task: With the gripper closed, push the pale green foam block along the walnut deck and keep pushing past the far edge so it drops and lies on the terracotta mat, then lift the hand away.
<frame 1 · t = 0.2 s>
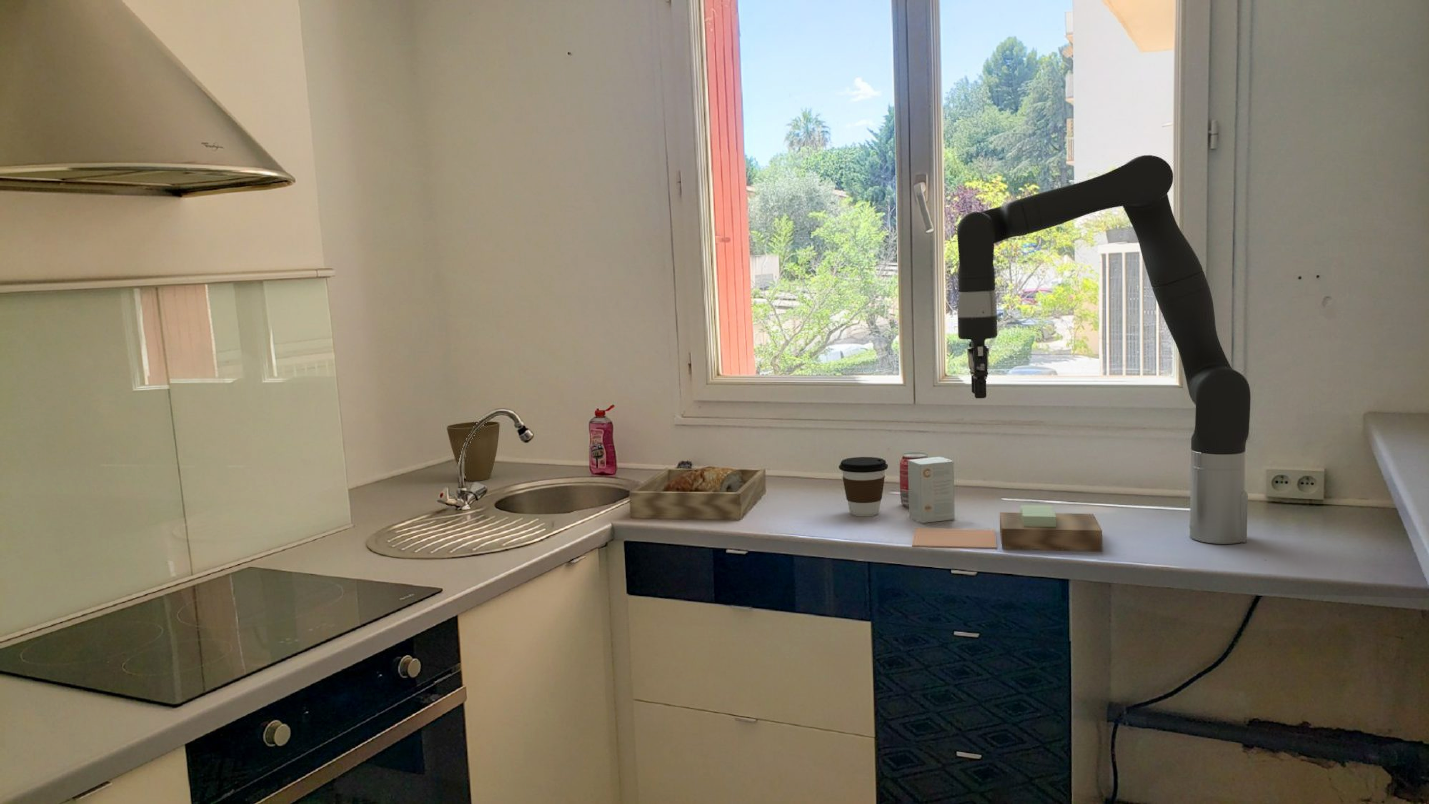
hand: (978, 395, 195), 28 cm above the worktop, tool pointing down, fingers open, 8 cm apart
pale green foam block: (1037, 520, 191), point 4 cm above the worktop, touching deck
deck: (1048, 540, 191), on the worktop
coffee cup: (864, 513, 220), on the worktop
soda can: (915, 506, 225), on the worktop
bread crate: (701, 504, 236), on the worktop
plant pot: (477, 479, 282), on the worktop
small box: (931, 519, 213), on the worktop
bread: (701, 506, 236), resting in bread crate
mat: (954, 538, 196), on the worktop
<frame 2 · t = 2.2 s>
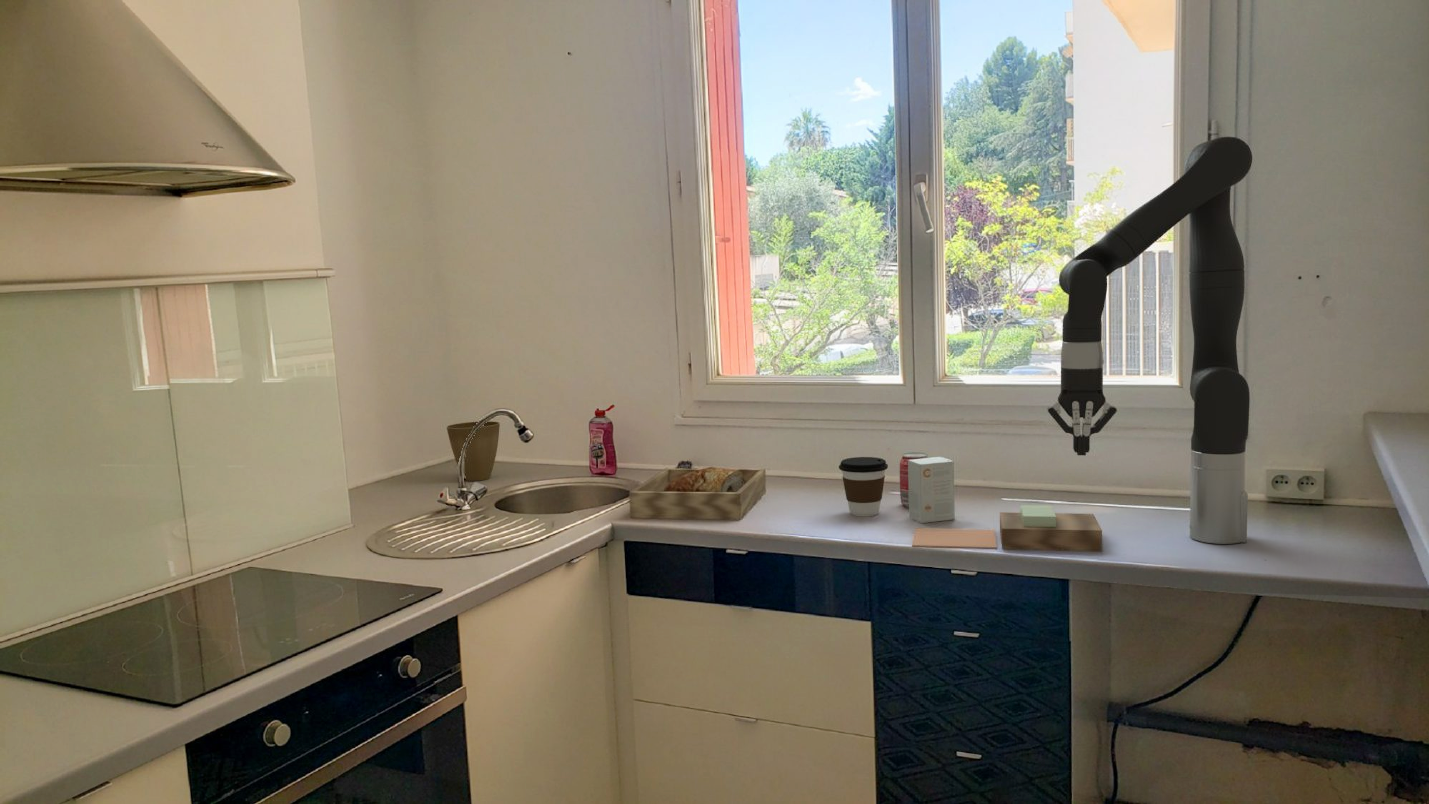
hand: (1081, 454, 187), 17 cm above the worktop, tool pointing down, fingers closed
bread: (702, 507, 235), resting in bread crate
everything else where it was.
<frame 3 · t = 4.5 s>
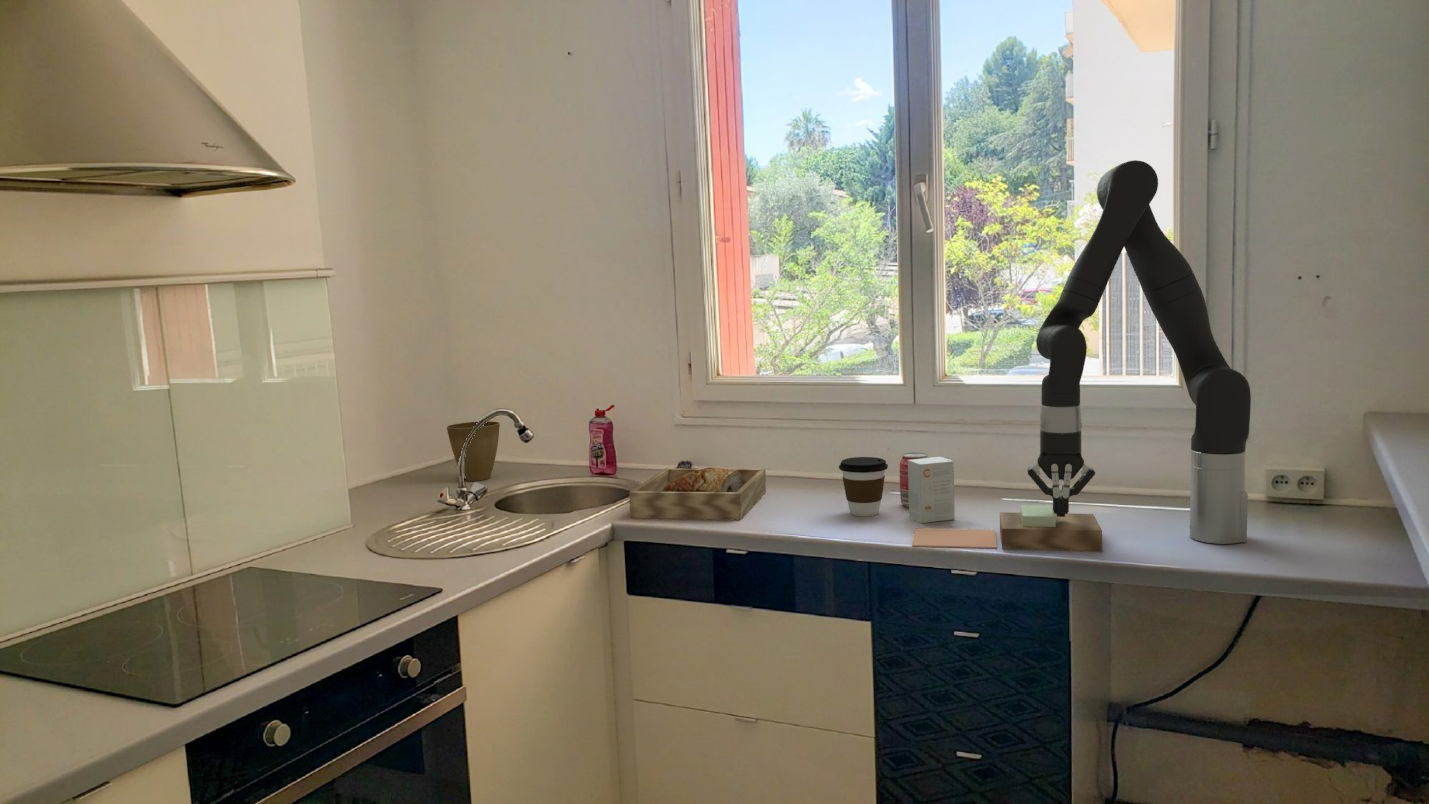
hand: (1060, 515, 190), 5 cm above the worktop, tool pointing down, fingers closed
pale green foam block: (1037, 520, 191), point 4 cm above the worktop, touching deck, gripper
bread: (701, 507, 235), resting in bread crate
everything else where it was.
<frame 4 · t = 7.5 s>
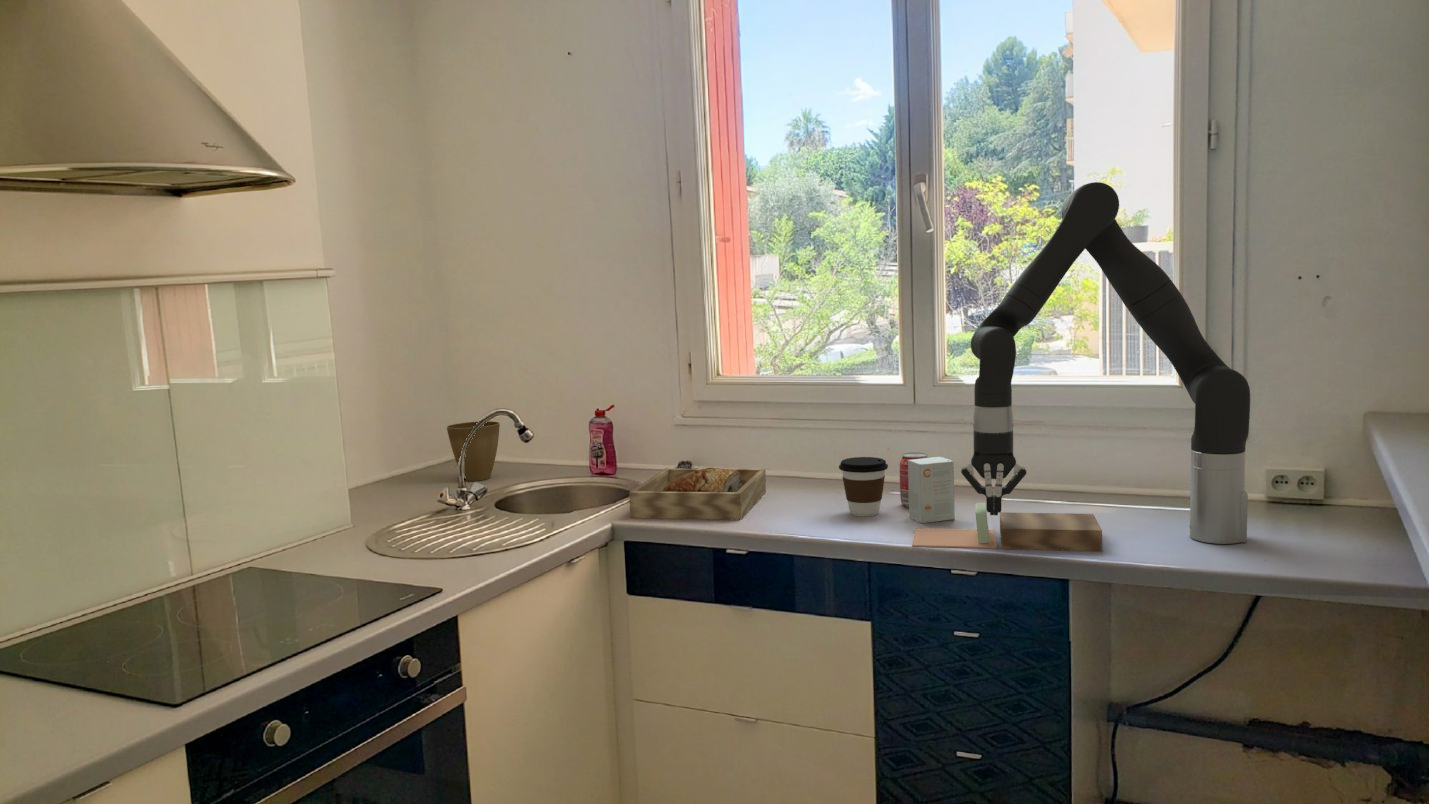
hand: (993, 514, 193), 5 cm above the worktop, tool pointing down, fingers closed
pale green foam block: (987, 522, 194), point 3 cm above the worktop, tilted 94°, touching mat
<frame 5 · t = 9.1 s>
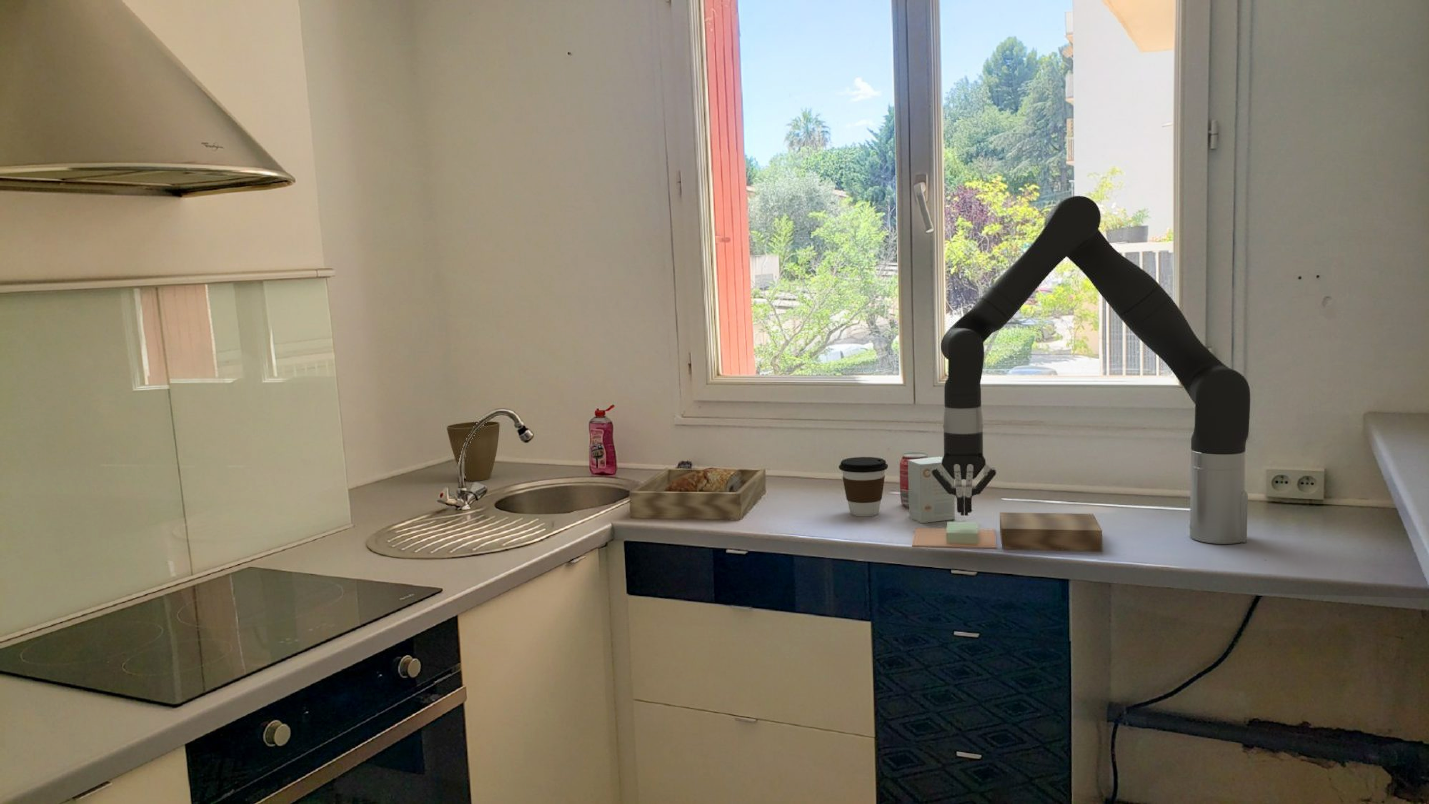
hand: (964, 514, 194), 5 cm above the worktop, tool pointing down, fingers closed
pale green foam block: (962, 527, 195), point 2 cm above the worktop, tilted 180°, touching mat
everything else where it was.
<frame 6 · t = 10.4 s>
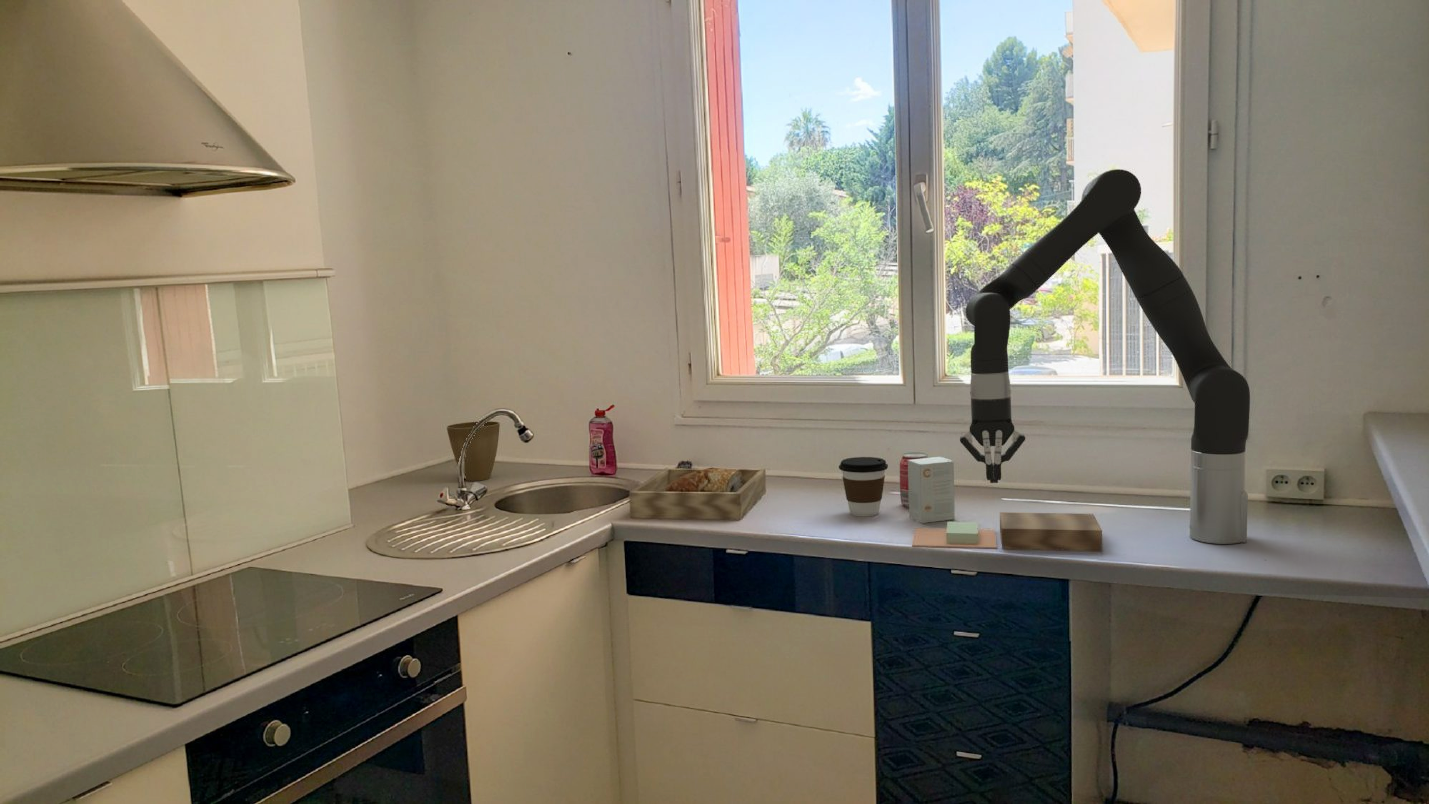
hand: (993, 482, 192), 12 cm above the worktop, tool pointing down, fingers closed
nothing on the worktop moved.
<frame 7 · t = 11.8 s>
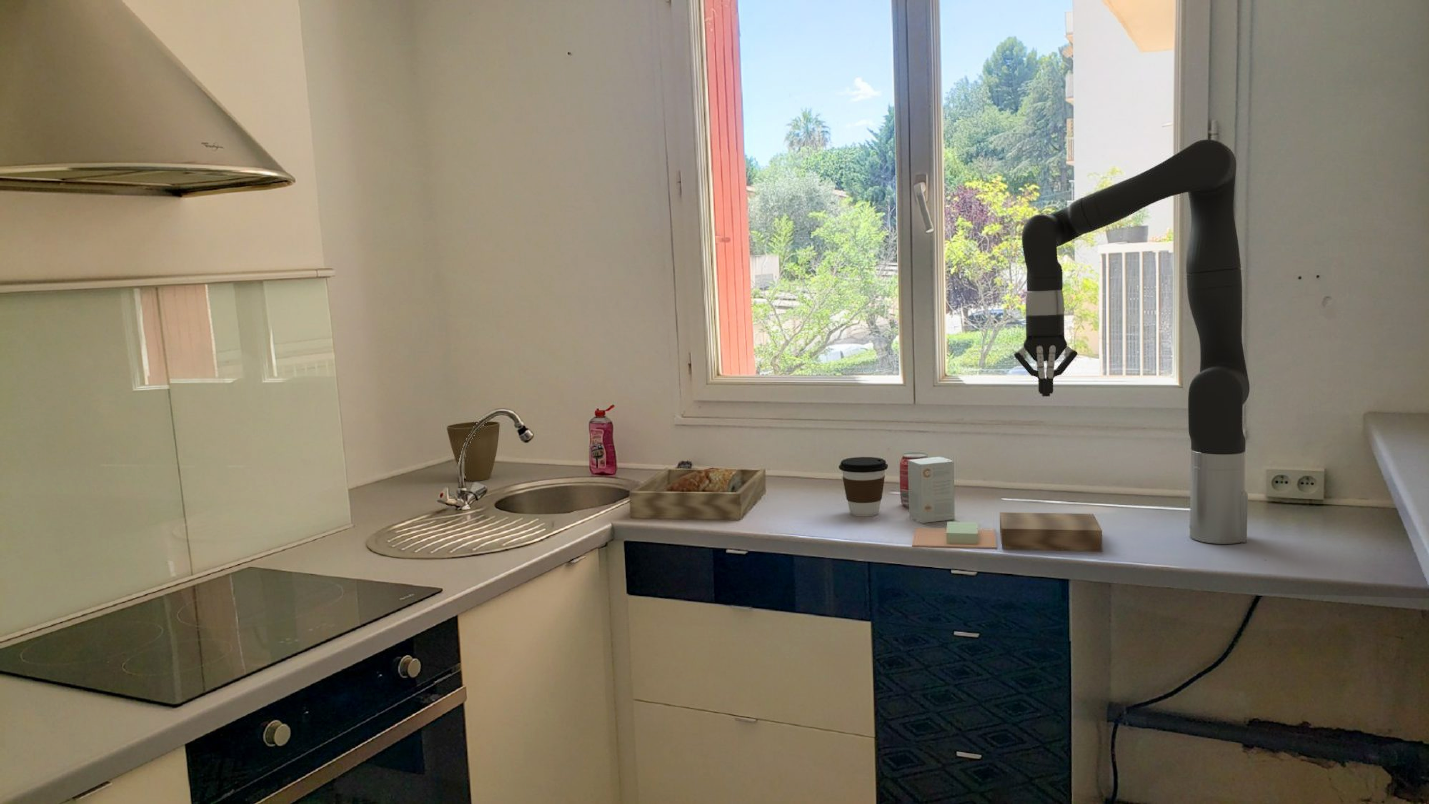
hand: (1045, 395, 203), 27 cm above the worktop, tool pointing down, fingers closed
nothing on the worktop moved.
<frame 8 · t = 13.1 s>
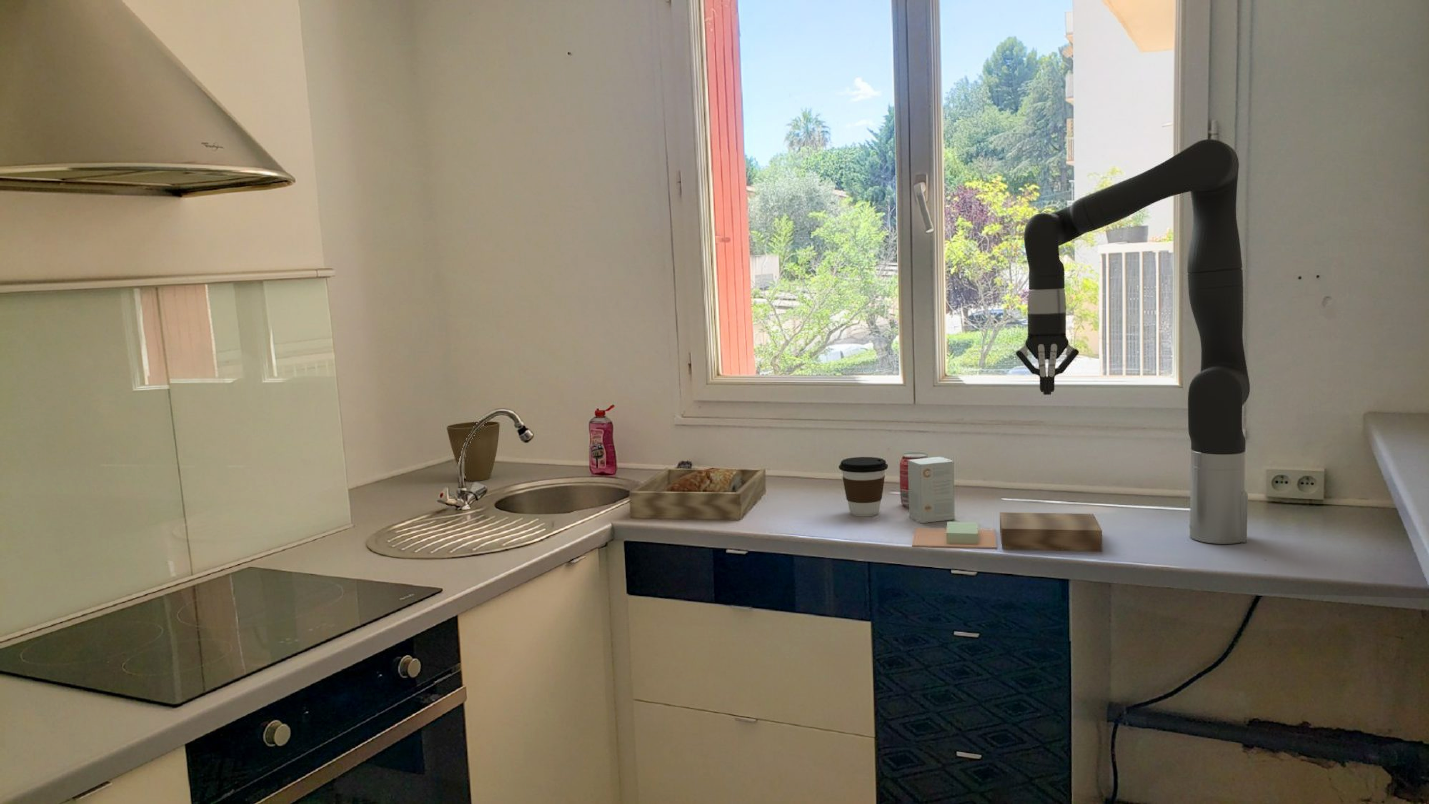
hand: (1046, 394, 203), 27 cm above the worktop, tool pointing down, fingers closed
bread: (703, 508, 234), resting in bread crate
everything else where it was.
at the end: pale green foam block point 2.3 cm above the worktop; pale green foam block inside the target area on the mat (1.6 cm from its centre), point 2.3 cm above the mat's base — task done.
